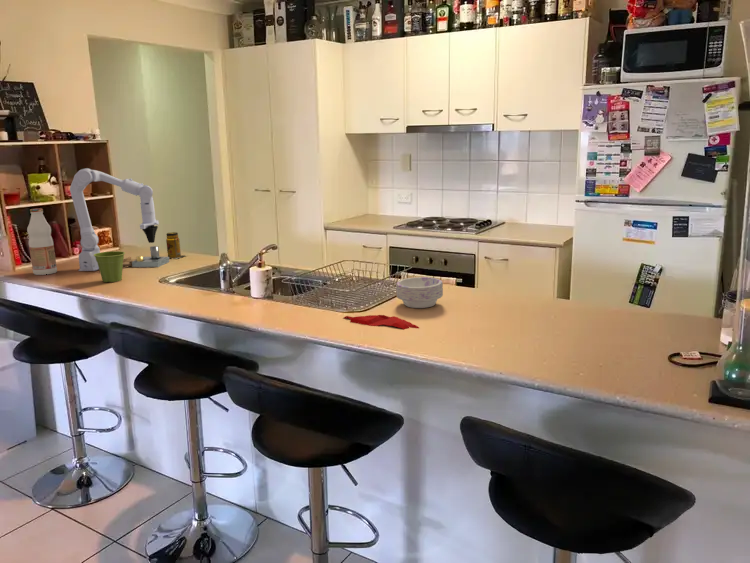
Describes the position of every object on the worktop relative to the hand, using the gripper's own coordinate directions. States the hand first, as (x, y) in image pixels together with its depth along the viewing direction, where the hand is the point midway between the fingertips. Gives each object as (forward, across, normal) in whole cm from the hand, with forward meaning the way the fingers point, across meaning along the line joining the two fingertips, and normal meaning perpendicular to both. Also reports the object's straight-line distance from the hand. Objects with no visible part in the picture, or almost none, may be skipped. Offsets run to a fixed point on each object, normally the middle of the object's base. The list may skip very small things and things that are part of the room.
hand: (151, 242), depth 286 cm
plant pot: (+10, -34, +2) cm, 35 cm away
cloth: (+11, -89, -114) cm, 145 cm away
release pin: (+10, -4, +4) cm, 11 cm away
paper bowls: (+11, -69, -124) cm, 143 cm away
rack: (+10, 0, +11) cm, 15 cm away
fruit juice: (+10, -19, +41) cm, 46 cm away
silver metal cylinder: (+10, +1, -1) cm, 10 cm away
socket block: (+10, -1, +1) cm, 10 cm away
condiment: (+10, +17, -3) cm, 20 cm away
